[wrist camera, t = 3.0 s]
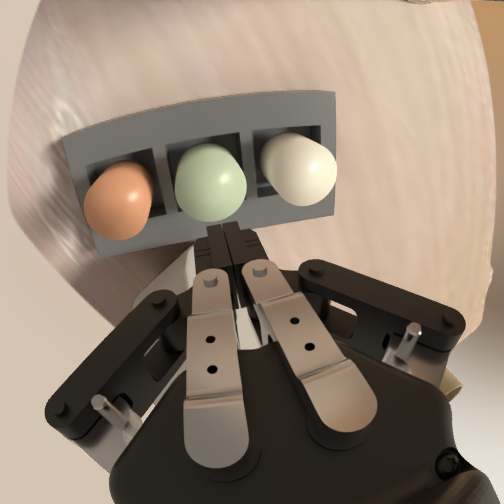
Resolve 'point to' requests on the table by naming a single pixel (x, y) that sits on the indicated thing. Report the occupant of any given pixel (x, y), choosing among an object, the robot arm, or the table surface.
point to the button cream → (298, 168)
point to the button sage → (209, 182)
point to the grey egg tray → (194, 132)
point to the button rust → (120, 200)
